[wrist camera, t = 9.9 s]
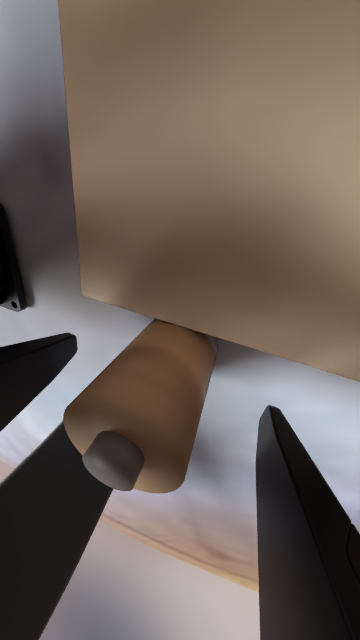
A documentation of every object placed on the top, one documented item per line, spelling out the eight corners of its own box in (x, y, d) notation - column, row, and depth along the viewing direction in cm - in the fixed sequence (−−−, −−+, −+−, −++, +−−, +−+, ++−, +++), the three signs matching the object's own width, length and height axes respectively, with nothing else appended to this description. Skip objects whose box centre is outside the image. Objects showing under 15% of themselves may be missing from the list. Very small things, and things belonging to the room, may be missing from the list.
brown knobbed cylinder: (207, 381, 12) (166, 534, 6) (145, 359, 12) (57, 475, 7) (226, 323, 10) (192, 465, 4) (151, 301, 10) (33, 395, 5)
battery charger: (61, 419, 19) (-139, 626, 9) (75, 404, 17) (-159, 646, 7) (115, 465, 20) (-19, 705, 10) (135, 455, 18) (-8, 743, 8)
